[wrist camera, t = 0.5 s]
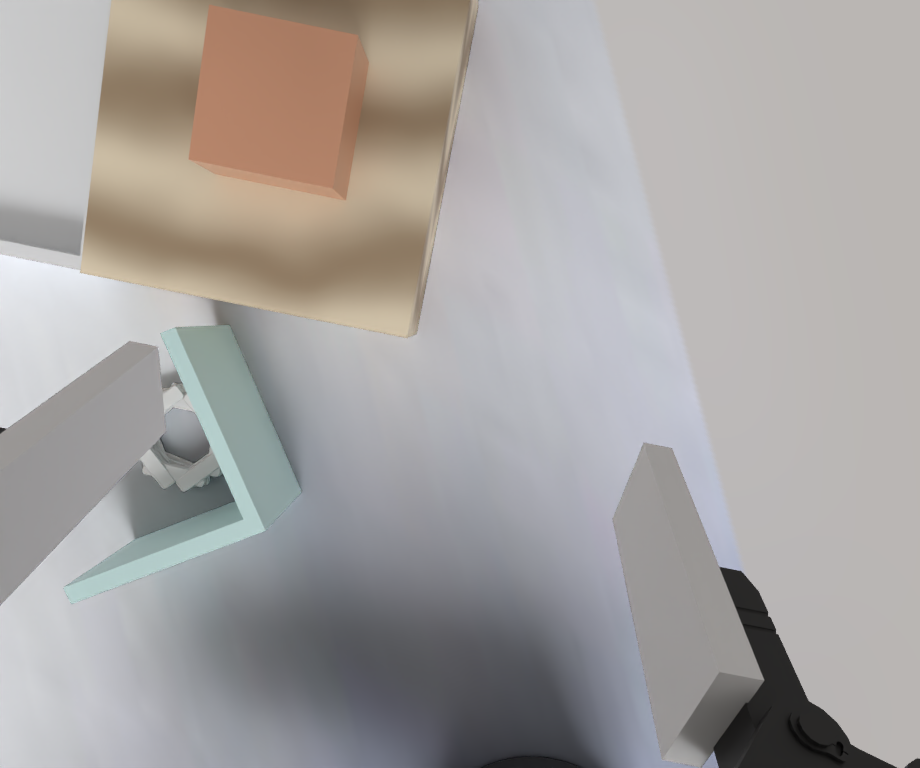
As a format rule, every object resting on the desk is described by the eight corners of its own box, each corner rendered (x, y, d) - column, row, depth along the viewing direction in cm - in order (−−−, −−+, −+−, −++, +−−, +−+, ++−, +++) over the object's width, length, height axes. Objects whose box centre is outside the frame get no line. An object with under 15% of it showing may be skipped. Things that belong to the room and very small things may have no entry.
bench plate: (416, 333, 37) (406, 337, 31) (142, 279, 37) (80, 272, 31) (478, 8, 35) (480, -54, 29) (184, -52, 35) (125, -128, 29)
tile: (346, 200, 31) (332, 188, 28) (215, 174, 30) (188, 159, 27) (369, 63, 30) (358, 35, 27) (235, 35, 30) (209, 4, 27)
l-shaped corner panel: (232, 324, 38) (175, 327, 31) (304, 489, 39) (265, 530, 32) (70, 389, 39) (-25, 408, 31) (145, 550, 40) (71, 604, 33)
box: (127, 276, 37) (91, 272, 34) (-73, 236, 37) (-129, 228, 34) (168, -56, 35) (134, -97, 31) (-46, -100, 35) (-104, -146, 31)
